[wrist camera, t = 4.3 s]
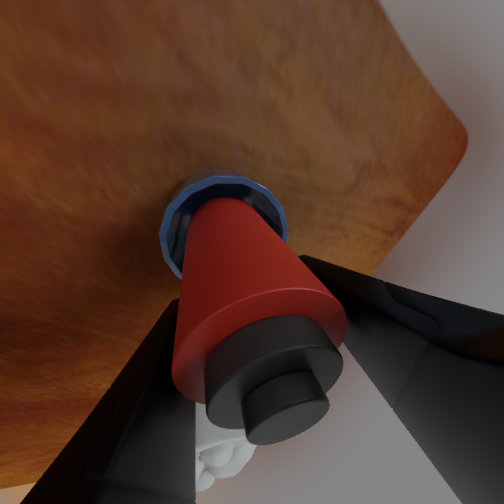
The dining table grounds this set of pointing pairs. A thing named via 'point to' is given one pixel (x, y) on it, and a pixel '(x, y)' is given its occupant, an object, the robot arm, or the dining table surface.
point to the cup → (208, 188)
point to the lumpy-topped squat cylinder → (218, 450)
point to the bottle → (253, 327)
